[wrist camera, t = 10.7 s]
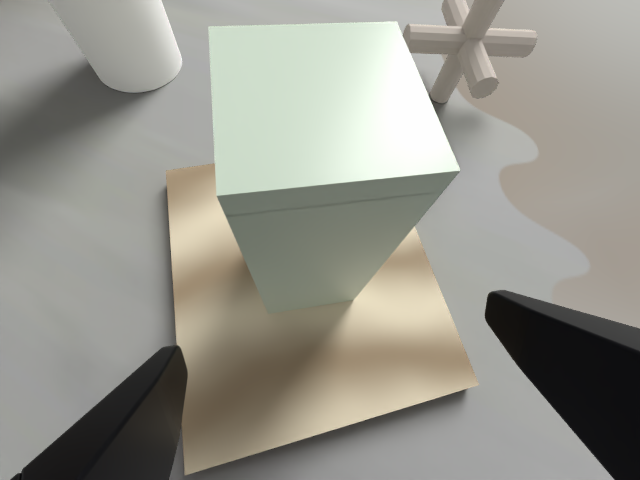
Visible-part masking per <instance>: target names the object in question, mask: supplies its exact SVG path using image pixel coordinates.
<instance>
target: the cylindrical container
mask: <svg viewBox="0 0 640 480" xmlns="http://www.w3.org/2000/svg"><path fill="white" fill-rule="evenodd" d="M48 2H49V3H50V5H51V6H52V8H53V9H54V11H55V12H56V14H57V15H58V17H59V18H60V20H61V21H62V23H63V24H64V26H65V27H66V29H67V30H68V32H69V33H70V35H71V36H72V38H73V39H74V41H75V42H76V44H77V45H78V47H79V48H80V50H81V51H82V53H83V54H84V56H85V57H86V59H87V60H88V62H89V63H90V65H91V66H92V68H93V69H94V71H95V72H96V74H97V75H98V77H99V78H100V80H101V81H102V82H103V83H104V84H105V85H107V86H109V87H110V88H112V89H115V90H118V91H122V92H131V93H138V92H146V91H151V90H154V89H157V88H160V87H162V86H164V85H166V84H167V83H169V82H170V81H171V80H173V79H174V78H175V77H176V76H177V74H178V73H179V71H180V69H181V66H182V57H181V54H180V51H179V49H178V46H177V43H176V40H175V37H174V35H173V32H172V29H171V26H170V23H169V21H168V18H167V15H166V12H165V9H164V6H163V4H162V1H161V0H48Z"/></svg>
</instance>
